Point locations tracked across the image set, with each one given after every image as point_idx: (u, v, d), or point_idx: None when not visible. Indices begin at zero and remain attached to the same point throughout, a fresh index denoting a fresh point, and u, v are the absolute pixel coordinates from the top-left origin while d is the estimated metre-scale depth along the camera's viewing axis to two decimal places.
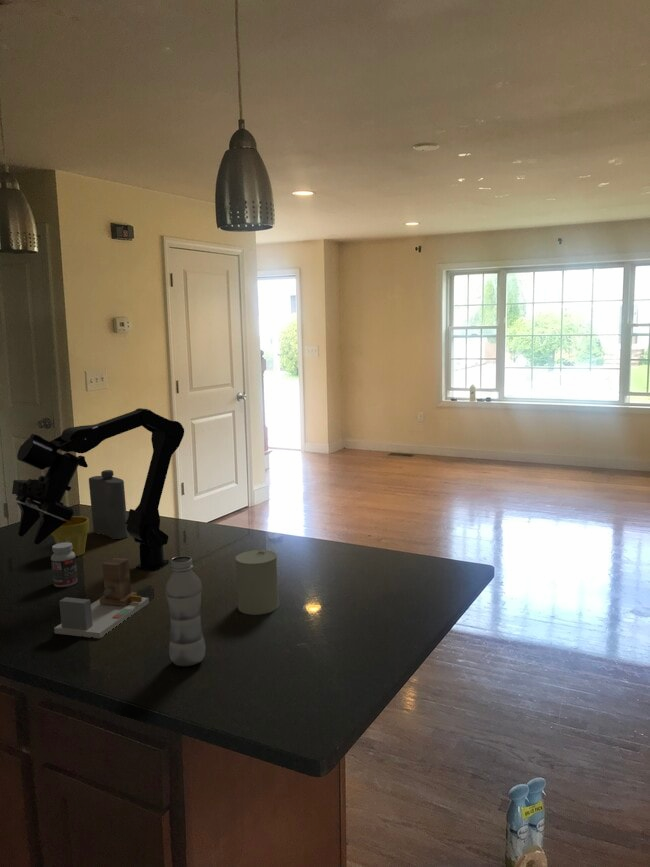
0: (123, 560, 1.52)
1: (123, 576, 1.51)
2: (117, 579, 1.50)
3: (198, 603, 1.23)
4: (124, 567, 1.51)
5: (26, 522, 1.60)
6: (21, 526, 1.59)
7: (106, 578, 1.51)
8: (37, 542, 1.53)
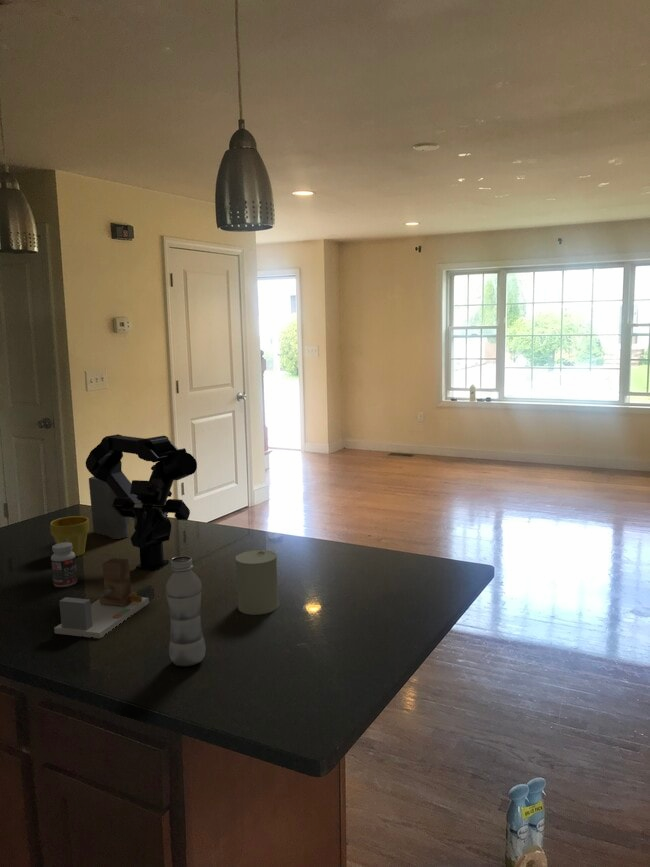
0: (123, 560, 1.52)
1: (123, 576, 1.51)
2: (117, 579, 1.50)
3: (198, 603, 1.23)
4: (124, 567, 1.51)
5: None
6: (140, 530, 1.61)
7: (106, 578, 1.51)
8: (142, 538, 1.61)
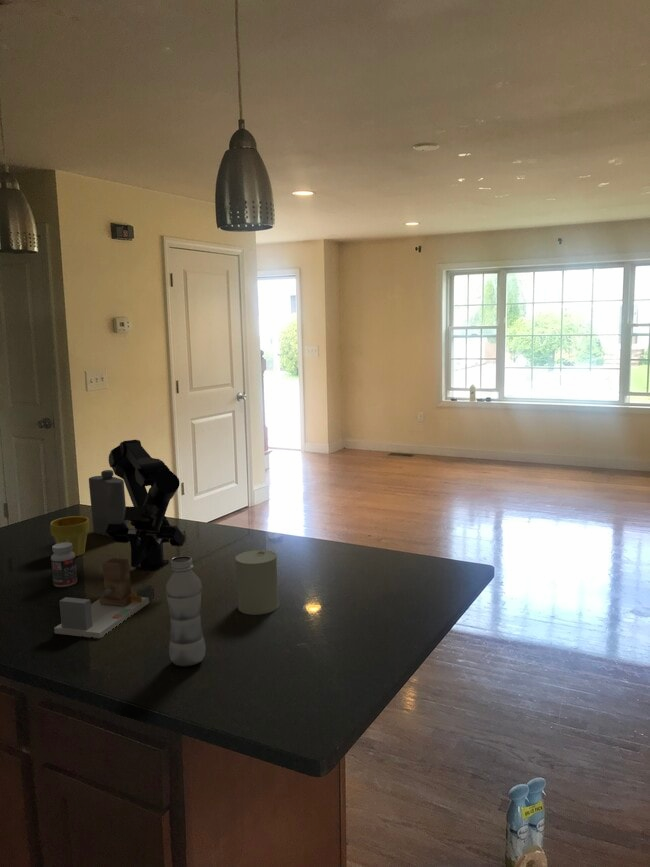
0: (123, 560, 1.52)
1: (123, 576, 1.51)
2: (117, 579, 1.50)
3: (198, 603, 1.23)
4: (124, 567, 1.51)
5: None
6: (134, 557, 1.59)
7: (106, 578, 1.51)
8: (136, 565, 1.58)
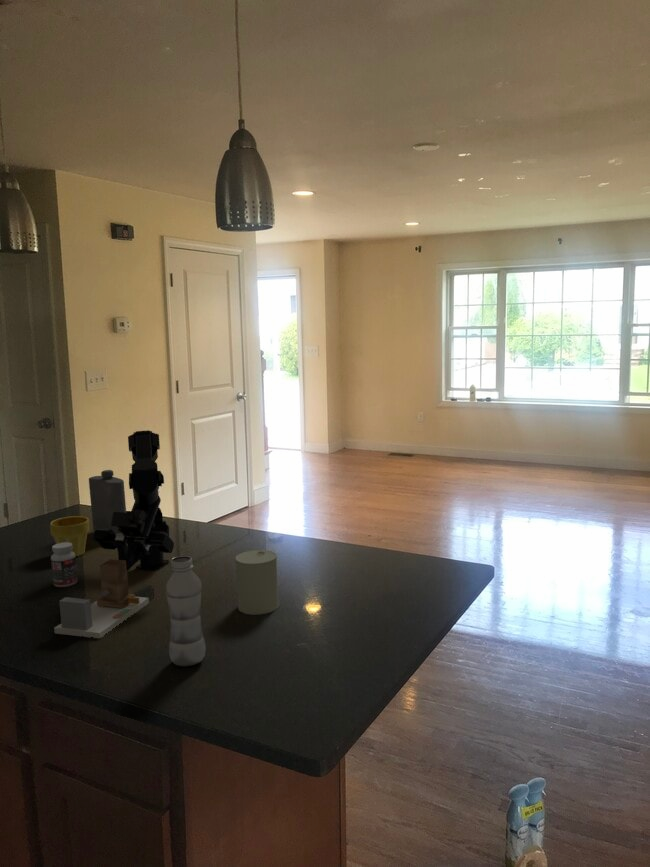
0: (120, 561, 1.51)
1: (121, 577, 1.50)
2: (114, 581, 1.49)
3: (198, 603, 1.23)
4: (121, 569, 1.51)
5: None
6: None
7: (103, 580, 1.50)
8: None
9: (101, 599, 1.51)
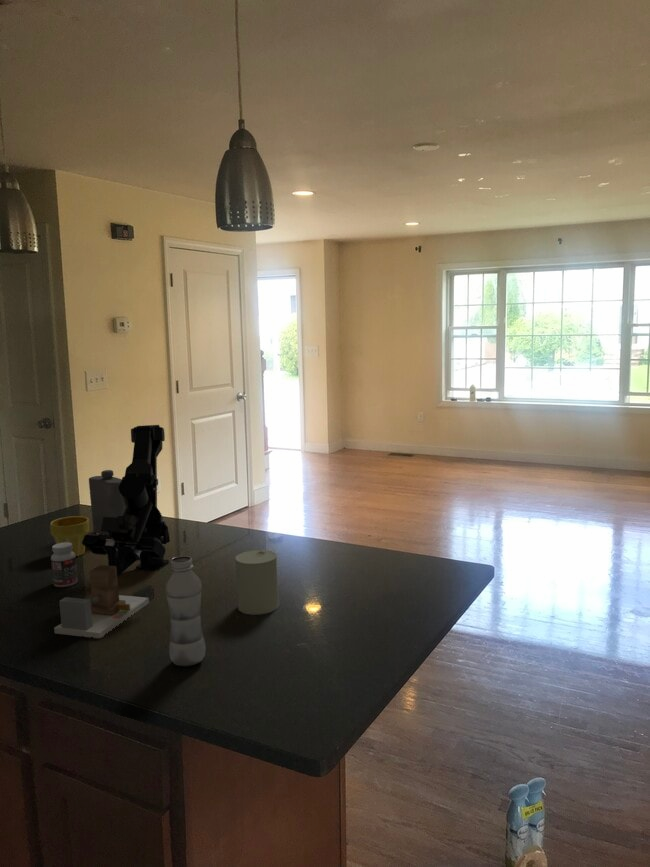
0: (111, 567, 1.48)
1: (111, 584, 1.47)
2: (104, 587, 1.45)
3: (198, 603, 1.23)
4: (112, 574, 1.47)
5: None
6: None
7: (93, 586, 1.46)
8: None
9: (91, 606, 1.47)
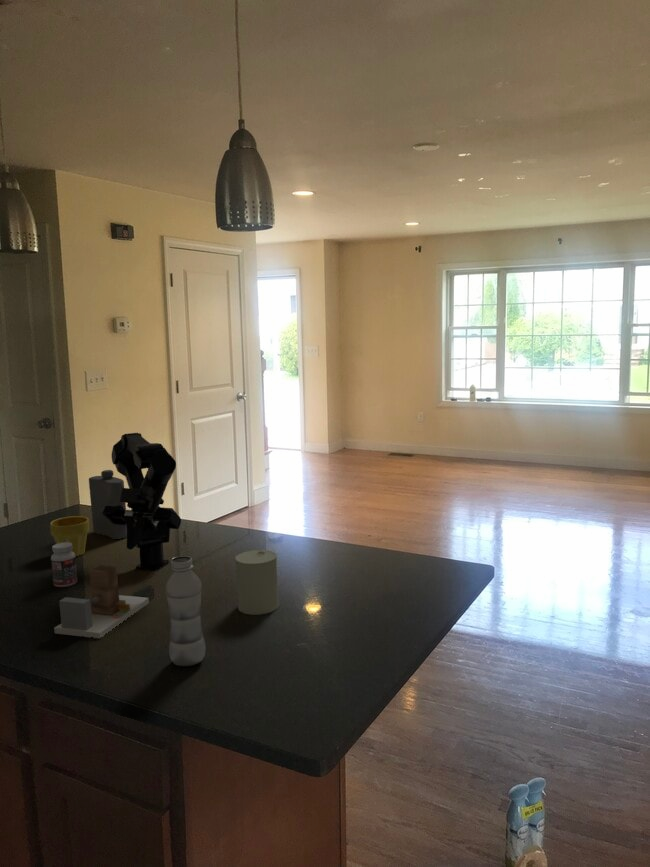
0: (111, 567, 1.48)
1: (111, 584, 1.47)
2: (104, 587, 1.45)
3: (198, 603, 1.23)
4: (112, 574, 1.47)
5: None
6: (129, 539, 1.58)
7: (93, 586, 1.46)
8: (131, 547, 1.58)
9: (91, 606, 1.47)
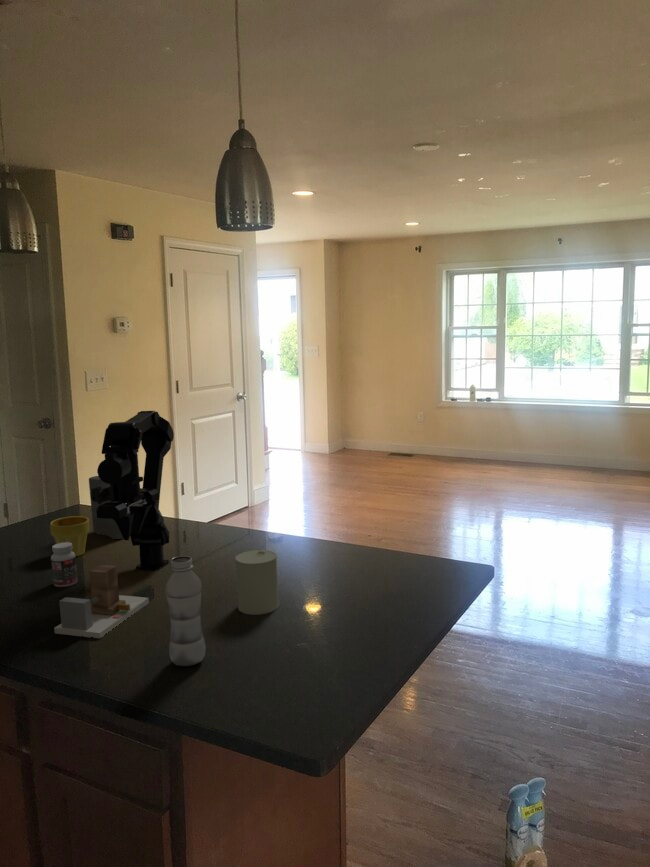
0: (111, 567, 1.48)
1: (111, 584, 1.47)
2: (104, 587, 1.45)
3: (198, 603, 1.23)
4: (112, 574, 1.47)
5: (135, 521, 1.66)
6: (133, 526, 1.67)
7: (93, 586, 1.46)
8: (125, 538, 1.62)
9: (91, 606, 1.47)
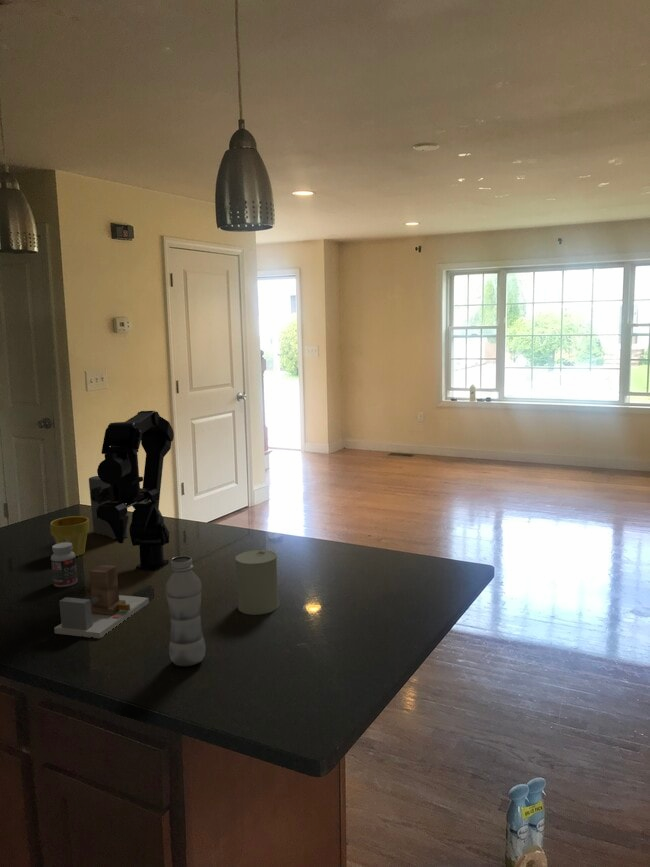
0: (111, 567, 1.48)
1: (111, 584, 1.47)
2: (104, 587, 1.45)
3: (198, 603, 1.23)
4: (112, 574, 1.47)
5: (140, 518, 1.69)
6: (138, 523, 1.69)
7: (93, 586, 1.46)
8: (120, 541, 1.60)
9: (91, 606, 1.47)
